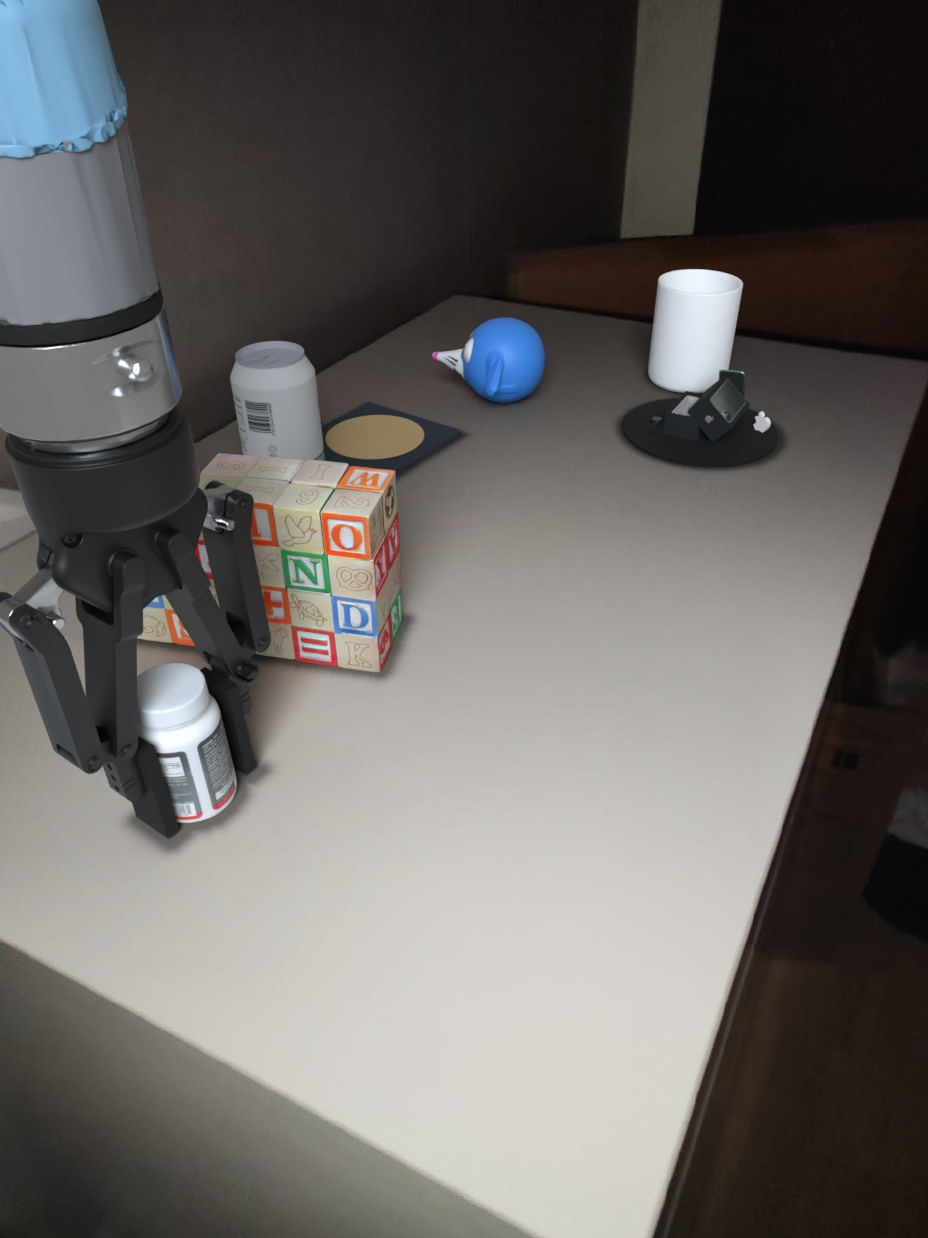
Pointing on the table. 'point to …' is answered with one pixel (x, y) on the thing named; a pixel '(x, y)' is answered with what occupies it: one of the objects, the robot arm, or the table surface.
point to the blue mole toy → (499, 360)
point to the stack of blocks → (313, 559)
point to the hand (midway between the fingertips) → (197, 791)
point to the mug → (693, 328)
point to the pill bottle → (186, 740)
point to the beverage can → (277, 402)
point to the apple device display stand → (703, 426)
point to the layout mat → (383, 438)
